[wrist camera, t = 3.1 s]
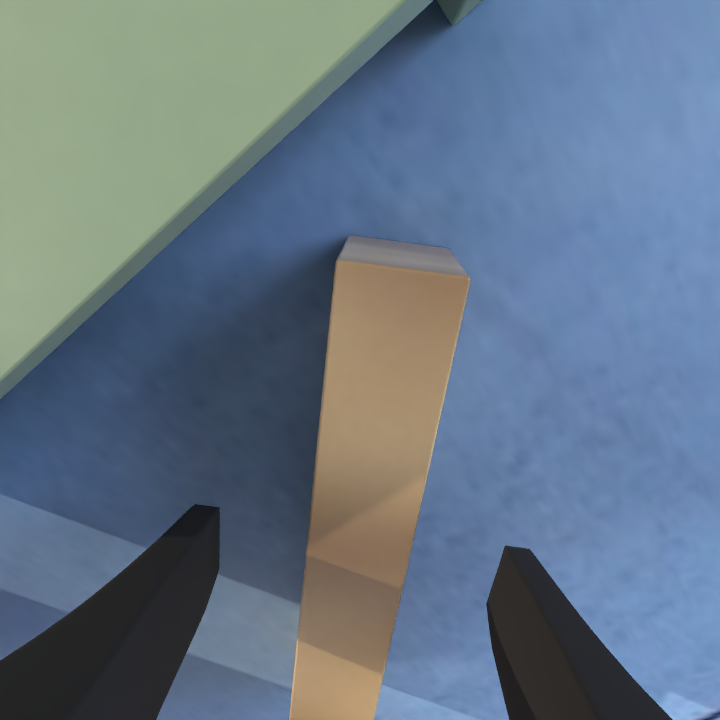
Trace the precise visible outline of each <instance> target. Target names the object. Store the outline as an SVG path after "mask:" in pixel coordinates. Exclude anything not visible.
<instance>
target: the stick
mask: <svg viewBox="0 0 720 720" xmlns="http://www.w3.org/2000/svg"><path fill="white" fill-rule="evenodd" d="M470 281H471V279H470V277H469V275H468V274H467V272H466V271H465V270H464V268H463V267H462V266H461V264H460V263H459V262H458V260H457V259H456V258H455V256H454V255H453V253H452V252H451V251H450V249H448V248H443V247H435V246H428V245H420V244H413V243H405V242H398V241H390V240H383V239H375V238H368V237H360V236H353V235H350V236H348V238H347V240H346V242H345V244H344V246H343V248H342V250H341V252H340V254H339V256H338V258H337V260H336V262H335V272H334V282H333V291H332V301H331V311H330V321H329V331H328V341H327V350H326V360H325V370H324V380H323V390H322V400H321V410H320V419H319V429H318V439H317V449H316V459H315V469H314V478H313V488H312V498H311V508H310V518H309V528H308V538H307V547H306V557H305V567H304V577H303V587H302V597H301V606H300V616H299V626H298V636H297V646H296V656H295V666H294V675H293V685H292V695H291V705H290V715H289V720H374V717H375V712H376V708H377V703H378V699H379V694H380V690H381V685H382V680H383V676H384V671H385V667H386V662H387V658H388V653H389V649H390V644H391V640H392V635H393V631H394V626H395V621H396V617H397V612H398V608H399V603H400V599H401V594H402V590H403V585H404V581H405V576H406V571H407V567H408V562H409V558H410V553H411V549H412V544H413V540H414V535H415V531H416V526H417V521H418V517H419V512H420V508H421V503H422V499H423V494H424V490H425V485H426V481H427V476H428V472H429V467H430V462H431V458H432V453H433V449H434V444H435V440H436V435H437V431H438V426H439V422H440V417H441V412H442V408H443V403H444V399H445V394H446V390H447V385H448V381H449V376H450V372H451V367H452V362H453V358H454V353H455V349H456V344H457V340H458V335H459V331H460V326H461V322H462V317H463V313H464V308H465V303H466V299H467V294H468V290H469V285H470Z"/></svg>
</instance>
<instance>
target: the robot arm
mask: <svg viewBox="0 0 720 720" xmlns="http://www.w3.org/2000/svg"><path fill="white" fill-rule="evenodd" d="M219 529H220V507H213V506H205V505H198V504H195V505H194V506H192V507H191V508H190V509H189V510H188V511H187V512H186V513H185V514H184V515H183V516H182V517H181V518H180V519H179V520H178V521H177V522H176V523H174V524H173V525H172V526H171V527H170V528H169V529H168V530H167V531H166V532H165V533H164V534H163V535H162V536H161V537H160V538H159V539H158V540H157V541H156V542H154V543H153V544H152V545H151V546H150V547H149V548H148V549H147V550H146V551H144V552H143V553H142V554H141V555H140V556H139V557H138V558H137V559H136V560H134V561H133V562H132V563H131V564H130V565H129V566H128V567H127V568H125V569H124V570H123V571H122V572H121V573H119V574H118V575H117V576H116V577H115V578H113V579H112V580H111V581H110V582H108V583H107V584H106V585H105V586H104V587H102V588H101V589H100V590H99V591H97V592H96V593H95V594H94V595H93V596H91V597H90V598H89V599H88V600H86V601H85V602H84V603H82V604H81V605H80V606H78V607H77V608H76V609H74V610H73V611H72V612H70V613H69V614H68V615H66V616H65V617H64V618H62V619H61V620H59V621H58V622H57V623H55V624H54V625H53V626H51V627H50V628H48V629H47V630H46V631H44V632H43V633H41V634H40V635H38V636H37V637H35V638H34V639H32V640H31V641H29V642H28V643H26V644H25V645H23V646H22V647H20V648H19V649H17V650H16V651H14V652H13V653H11V654H10V655H8V656H7V657H5V658H3V659H2V660H0V720H156V719H157V716H158V714H159V712H160V709H161V707H162V705H163V702H164V700H165V698H166V696H167V694H168V691H169V689H170V687H171V685H172V683H173V680H174V678H175V676H176V674H177V672H178V669H179V667H180V665H181V663H182V661H183V659H184V656H185V654H186V652H187V650H188V648H189V645H190V643H191V641H192V639H193V637H194V634H195V632H196V630H197V628H198V625H199V623H200V621H201V619H202V617H203V614H204V612H205V610H206V607H207V604H208V601H209V598H210V595H211V592H212V589H213V586H214V583H215V580H216V577H217V574H218V571H219ZM487 612H488V621H489V629H490V637H491V644H492V650H493V654H494V658H495V663H496V667H497V671H498V675H499V679H500V683H501V688H502V692H503V696H504V700H505V704H506V708H507V712H508V716H509V720H672V719H671V718H670V717H669V715H668V714H667V713H666V712H665V711H664V710H663V709H662V708H661V707H660V706H659V705H658V704H657V703H656V702H655V701H654V700H653V699H652V698H651V697H650V696H649V695H648V694H647V693H646V692H645V691H644V690H643V689H642V687H641V686H640V685H639V684H638V683H637V682H636V681H635V680H634V679H633V678H632V677H631V675H630V674H629V673H628V672H627V671H626V670H625V669H624V667H623V666H622V665H621V664H620V663H619V662H618V661H617V659H616V658H615V657H614V656H613V655H612V654H611V653H610V651H609V650H608V649H607V648H606V647H605V646H604V644H603V643H602V642H601V641H600V640H599V638H598V637H597V636H596V635H595V633H594V632H593V631H592V630H591V629H590V627H589V626H588V625H587V624H586V622H585V621H584V620H583V619H582V617H581V616H580V615H579V613H578V612H577V611H576V610H575V608H574V607H573V606H572V605H571V603H570V602H569V601H568V599H567V598H566V597H565V595H564V594H563V593H562V591H561V590H560V589H559V587H558V586H557V585H556V583H555V582H554V581H553V579H552V578H551V577H550V575H549V574H548V573H547V571H546V570H545V569H544V567H543V566H542V565H541V563H540V562H539V561H538V559H537V558H536V557H535V555H534V554H533V553H532V551H531V550H530V549H526V548H519V547H511V546H505V548H504V551H503V554H502V558H501V561H500V564H499V567H498V570H497V573H496V576H495V579H494V582H493V585H492V588H491V591H490V594H489V597H488V601H487Z"/></svg>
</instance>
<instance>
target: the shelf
mask: <svg viewBox="0 0 720 720" xmlns="http://www.w3.org/2000/svg"><path fill="white" fill-rule="evenodd" d="M432 1H433V0H0V399H1V398H2V397H3V396H5V395H6V394H7V393H8V392H9V391H10V390H11V389H12V388H13V387H14V386H15V385H17V384H18V383H19V382H20V381H21V380H22V379H23V378H24V377H25V376H26V375H27V374H28V373H30V372H31V371H32V370H33V369H34V368H35V367H36V366H37V365H38V364H39V363H40V362H41V361H43V360H44V359H45V358H46V357H47V356H48V355H49V354H50V353H51V352H52V351H53V350H55V349H56V348H57V347H58V346H59V345H60V344H61V343H62V342H63V341H64V340H65V339H66V338H68V337H69V336H70V335H71V334H72V333H73V332H74V331H75V330H76V329H77V328H78V327H79V326H81V325H82V324H83V323H84V322H85V321H86V320H87V319H88V318H89V317H90V316H91V315H93V314H94V313H95V312H96V311H97V310H98V309H99V308H100V307H101V306H102V305H103V304H104V303H106V302H107V301H108V300H109V299H110V298H111V297H112V296H113V295H114V294H115V293H116V292H117V291H119V290H120V289H121V288H122V287H123V286H124V285H125V284H126V283H127V282H128V281H129V280H131V279H132V278H133V277H134V276H135V275H136V274H137V273H138V272H139V271H140V270H141V269H142V268H144V267H145V266H146V265H147V264H148V263H149V262H150V261H151V260H152V259H153V258H154V257H155V256H157V255H158V254H159V253H160V252H161V251H162V250H163V249H164V248H165V247H166V246H167V245H169V244H170V243H171V242H172V241H173V240H174V239H175V238H176V237H177V236H178V235H179V234H180V233H182V232H183V231H184V230H185V229H186V228H187V227H188V226H189V225H190V224H191V223H192V222H193V221H195V220H196V219H197V218H198V217H199V216H200V215H201V214H202V213H203V212H204V211H205V210H207V209H208V208H209V207H210V206H211V205H212V204H213V203H214V202H215V201H216V200H217V199H218V198H220V197H221V196H222V195H223V194H224V193H225V192H226V191H227V190H228V189H229V188H230V187H231V186H233V185H234V184H235V183H236V182H237V181H238V180H239V179H240V178H241V177H242V176H243V175H245V174H246V173H247V172H248V171H249V170H250V169H251V168H252V167H253V166H254V165H255V164H256V163H258V162H259V161H260V160H261V159H262V158H263V157H264V156H265V155H266V154H267V153H268V152H269V151H271V150H272V149H273V148H274V147H275V146H276V145H277V144H278V143H279V142H280V141H281V140H283V139H284V138H285V137H286V136H287V135H288V134H289V133H290V132H291V131H292V130H293V129H294V128H296V127H297V126H298V125H299V124H300V123H301V122H302V121H303V120H304V119H305V118H306V117H307V116H309V115H310V114H311V113H312V112H313V111H314V110H315V109H316V108H317V107H318V106H319V105H321V104H322V103H323V102H324V101H325V100H326V99H327V98H328V97H329V96H330V95H331V94H332V93H334V92H335V91H336V90H337V89H338V88H339V87H340V86H341V85H342V84H343V83H344V82H345V81H347V80H348V79H349V78H350V77H351V76H352V75H353V74H354V73H355V72H356V71H357V70H359V69H360V68H361V67H362V66H363V65H364V64H365V63H366V62H367V61H368V60H369V59H370V58H372V57H373V56H374V55H375V54H376V53H377V52H378V51H379V50H380V49H381V48H382V47H383V46H385V45H386V44H387V43H388V42H389V41H390V40H391V39H392V38H393V37H394V36H395V35H397V34H398V33H399V32H400V31H401V30H402V29H403V28H404V27H405V26H406V25H407V24H408V23H410V22H411V21H412V20H413V19H414V18H415V17H416V16H417V15H418V14H419V13H420V12H421V11H423V10H424V9H425V8H426V7H427V6H428V5H429V4H430V3H431V2H432ZM482 1H483V0H437V2H438V3H439V5H440V7H441V8H442V10H443V12H444V13H445V15H446V17H447V18H448V20H449V22H450V23H451V24H452V25H456V24H457V23H458V22H459V21H460V20H461V19H463V18H464V17H465V16H466V15H467V14H468V13H469V12H470V11H472V10H473V9H474V8H475V7H476V6H477V5H478V4H479V3H481V2H482Z"/></svg>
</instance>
